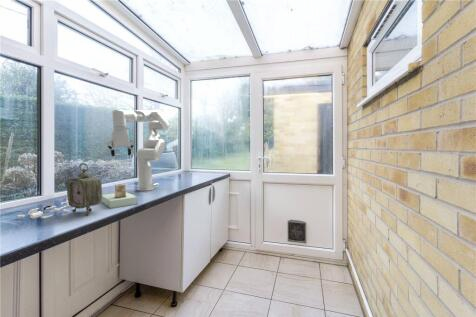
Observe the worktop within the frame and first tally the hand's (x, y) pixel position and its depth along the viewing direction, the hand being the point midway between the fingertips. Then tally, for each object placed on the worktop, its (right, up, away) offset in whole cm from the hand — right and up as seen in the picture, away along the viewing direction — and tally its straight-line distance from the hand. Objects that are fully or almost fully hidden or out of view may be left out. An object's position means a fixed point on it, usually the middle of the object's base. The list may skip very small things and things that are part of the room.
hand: (121, 155), depth 148 cm
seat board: (+6, -28, -14) cm, 32 cm away
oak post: (+8, -28, -16) cm, 33 cm away
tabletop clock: (-1, -29, -34) cm, 45 cm away
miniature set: (-14, -29, -29) cm, 44 cm away
